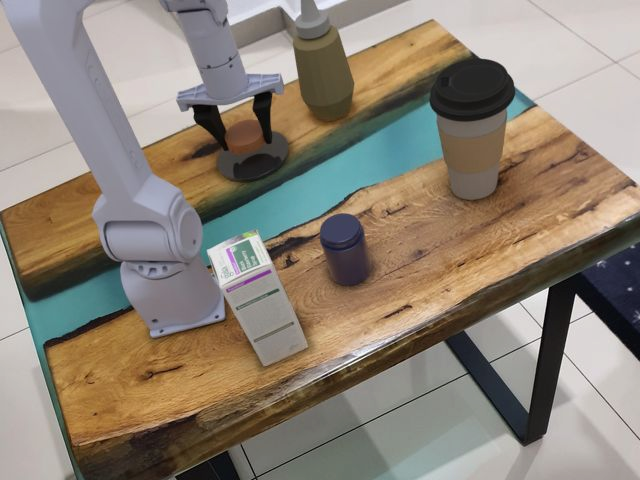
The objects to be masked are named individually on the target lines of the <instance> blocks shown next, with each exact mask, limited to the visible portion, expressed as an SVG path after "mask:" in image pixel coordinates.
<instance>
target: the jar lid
mask: <svg viewBox="0 0 640 480" xmlns="http://www.w3.org/2000/svg"><path fill="white" fill-rule="evenodd" d="M225 141H226V144H227V147H228V149H229V150H230V151H231V152H232V153H235V154H248V153H252V152H254V151H256V150H258V149H259V148H261V147H262V146H263V145H264V144H265V142H266V141H265V139H264V135H263V132H262V128H261V126H260V123H259V121H258V119H250V118H249V119H243V120H240V121H238V122H235V123H234V124H232V125H230V126H229V128H228V129H226V133H225Z"/></svg>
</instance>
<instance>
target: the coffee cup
mask: <svg viewBox="0 0 640 480" xmlns="http://www.w3.org/2000/svg"><path fill="white" fill-rule="evenodd" d="M515 96H516V86H515V82H514V79H513V77H512V76H511V75H510V73H508V70H507V68H506V67H505V66H504V65H503V64H501V63H500V62H498V61H495V60H493V59H488V58H468V59H464V60H460V61H457V62H454V63H451V64H450V65H448V66H447V67H445V68H444V69H443V70H441V71H440V72H439V74H438V75H437V77H436V79H435V81H434V83H433V84H432V86H431V88H430V92H429V98H428V99H429V101H428V103H429V106H430V108H431V110H432V111H433V112H434V113H435V114H436V126H437V131H438V136H439V141H440V146H441V150H442V151H441V152H442V155H443V156H442V157H443V160H444V163H445V165H446V170H447V174H448V181H449V184H450V189H451V191H452V193H453V195H455V196H456V197H457V198H459V199H461V200H465V201H467V200H469V201H475V200H481V199H485V198H486V197H489V196H490V195H492V194H493V193H494V192H495V190H496V188H497V186H498V180H499V172H500V165H501V159H502V156H503V152H504V143H505V137H506V129H507V121H508V107H509V106H510V105H511V104H512V102H513V101H514V99H515Z"/></svg>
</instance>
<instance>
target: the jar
mask: <svg viewBox="0 0 640 480" xmlns="http://www.w3.org/2000/svg"><path fill="white" fill-rule="evenodd" d="M319 243H320V246H321V249H322V253H323V257H324V260H325V263H326V266H327V270H328V272H329V275H330V278H331V280H332V281H333V282H334V283H336V284H337V285H340V286H343V287H353V286H357V285H359V284H361V283H363V282H364V281H366V280H367V279H368V278H369V277H370V275H371V273H372V270H373V265H372V259H371V255H370V250H369V246H368V242H367V237H366V233H365V229H364V226H363V225H362V223H361V220H359V219H358V218H357V217H356V215H353V214H351V213H346V212H341V213H336V214H333V215H331V216H329V217H327V218H326V219H325V220H324V221H323V222H322V223H321V225H320V228H319Z"/></svg>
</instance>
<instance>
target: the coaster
mask: <svg viewBox="0 0 640 480" xmlns="http://www.w3.org/2000/svg"><path fill="white" fill-rule="evenodd" d="M272 135H273V136H272V143H271V144H266V142H265V144H264V145H263V146H262V147H261V148H259V149H258V150H256V151H254V152H252V153H248V154H235V153H232V152H231V151H230V150H229V151H224V150H223V148H222V149H221V150H220V152H219V154H218V156H217V159H216V166H217V170H218V171H219V174H221V176H222V177H224V178H225V179H226V180H228V181H232V182H235V183H236V182H237V183H251V182H255V181H256V182H257V181H259V180H262V179H264V178H267V177H269V176H271V175H272V174H274V173H276V172H277V171H279V169H280V168H282V167H283V166H284V164H285V163H286V161H287V160H288V159H289V155H290V153H291V152H290V151H291V148H290V143H289V141H288V139H287V138H286V137H285V136H284V135H283V134H282V133H280V132H278V131H275V130H272Z"/></svg>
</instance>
